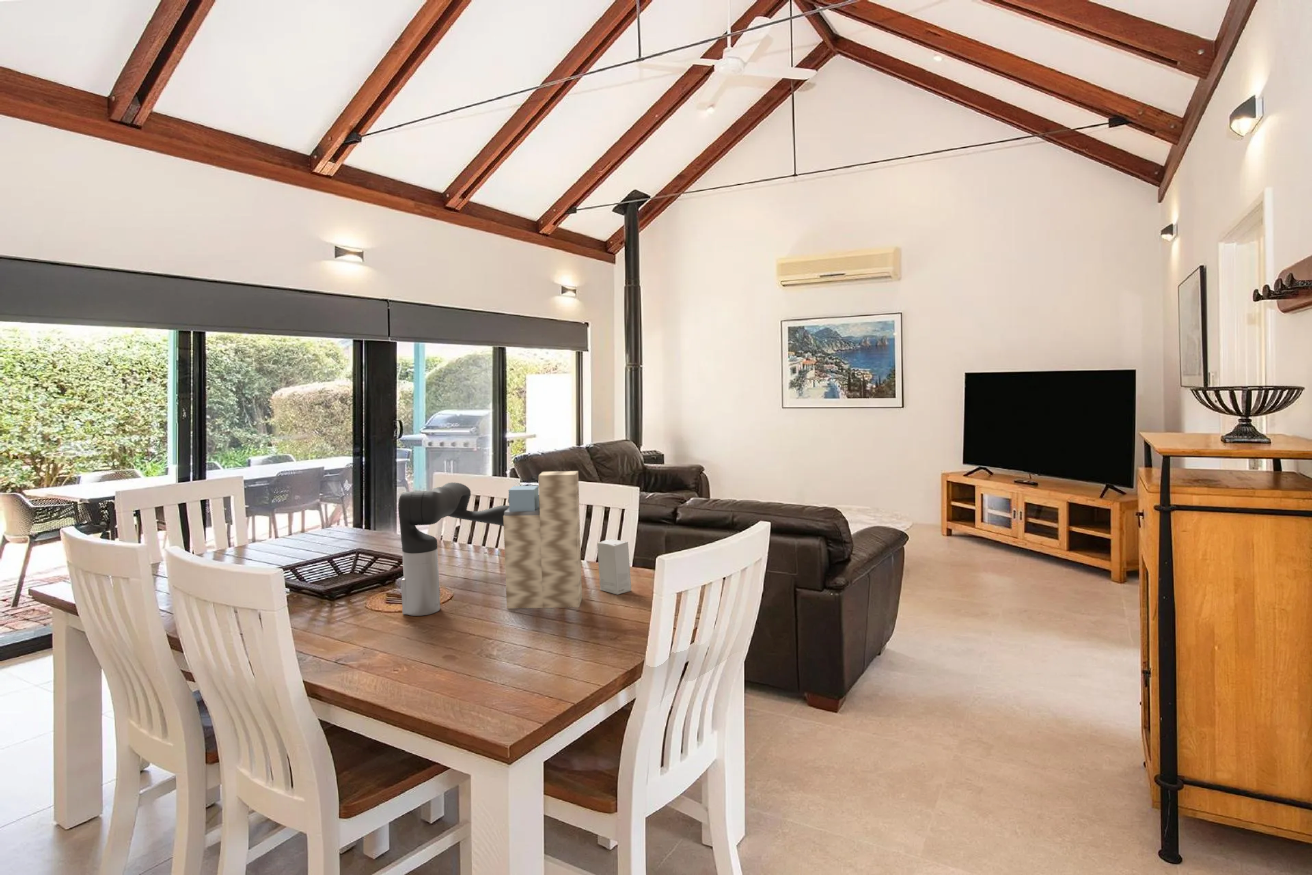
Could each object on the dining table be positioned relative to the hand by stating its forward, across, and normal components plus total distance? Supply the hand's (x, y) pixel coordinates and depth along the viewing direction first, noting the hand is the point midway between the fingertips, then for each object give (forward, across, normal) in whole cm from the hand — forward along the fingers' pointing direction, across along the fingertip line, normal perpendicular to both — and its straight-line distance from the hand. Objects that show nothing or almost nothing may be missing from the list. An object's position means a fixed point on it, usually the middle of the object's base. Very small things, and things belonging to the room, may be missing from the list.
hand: (529, 491), depth 212 cm
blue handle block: (+2, 0, +5) cm, 5 cm away
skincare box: (-17, +24, +25) cm, 39 cm away
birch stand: (-7, +5, +31) cm, 32 cm away
